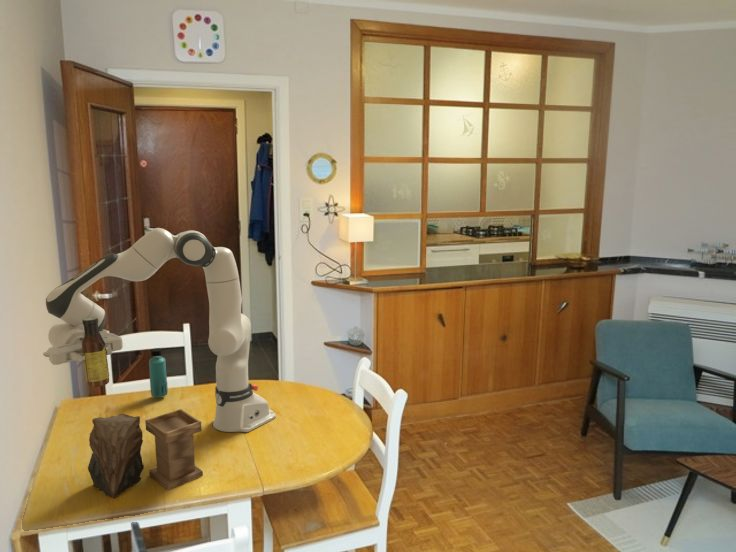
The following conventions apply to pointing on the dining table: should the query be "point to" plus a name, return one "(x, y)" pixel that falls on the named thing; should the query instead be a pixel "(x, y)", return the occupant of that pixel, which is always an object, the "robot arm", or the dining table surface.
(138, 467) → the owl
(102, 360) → the sauce bottle
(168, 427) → the display stand
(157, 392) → the beverage bottle
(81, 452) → the dining table surface
